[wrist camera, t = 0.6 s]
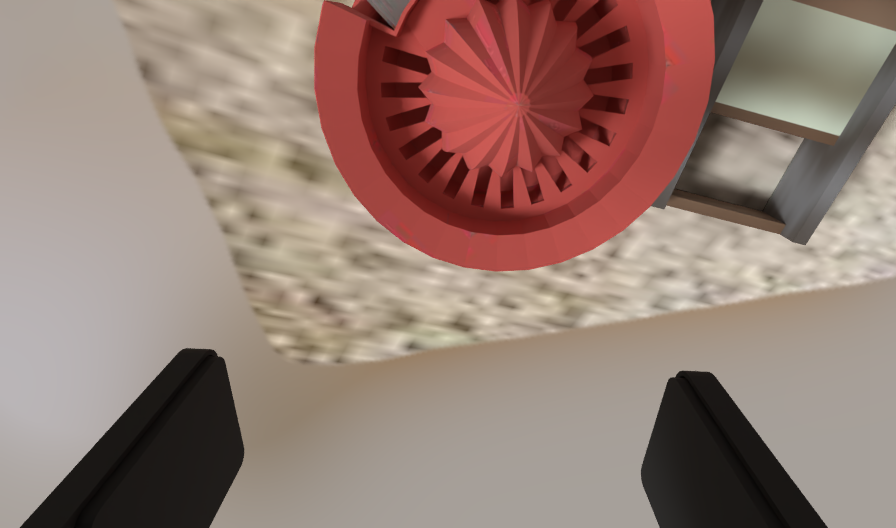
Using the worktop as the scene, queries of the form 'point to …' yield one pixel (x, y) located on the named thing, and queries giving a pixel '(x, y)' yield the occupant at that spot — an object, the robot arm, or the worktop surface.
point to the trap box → (799, 98)
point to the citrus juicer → (511, 117)
